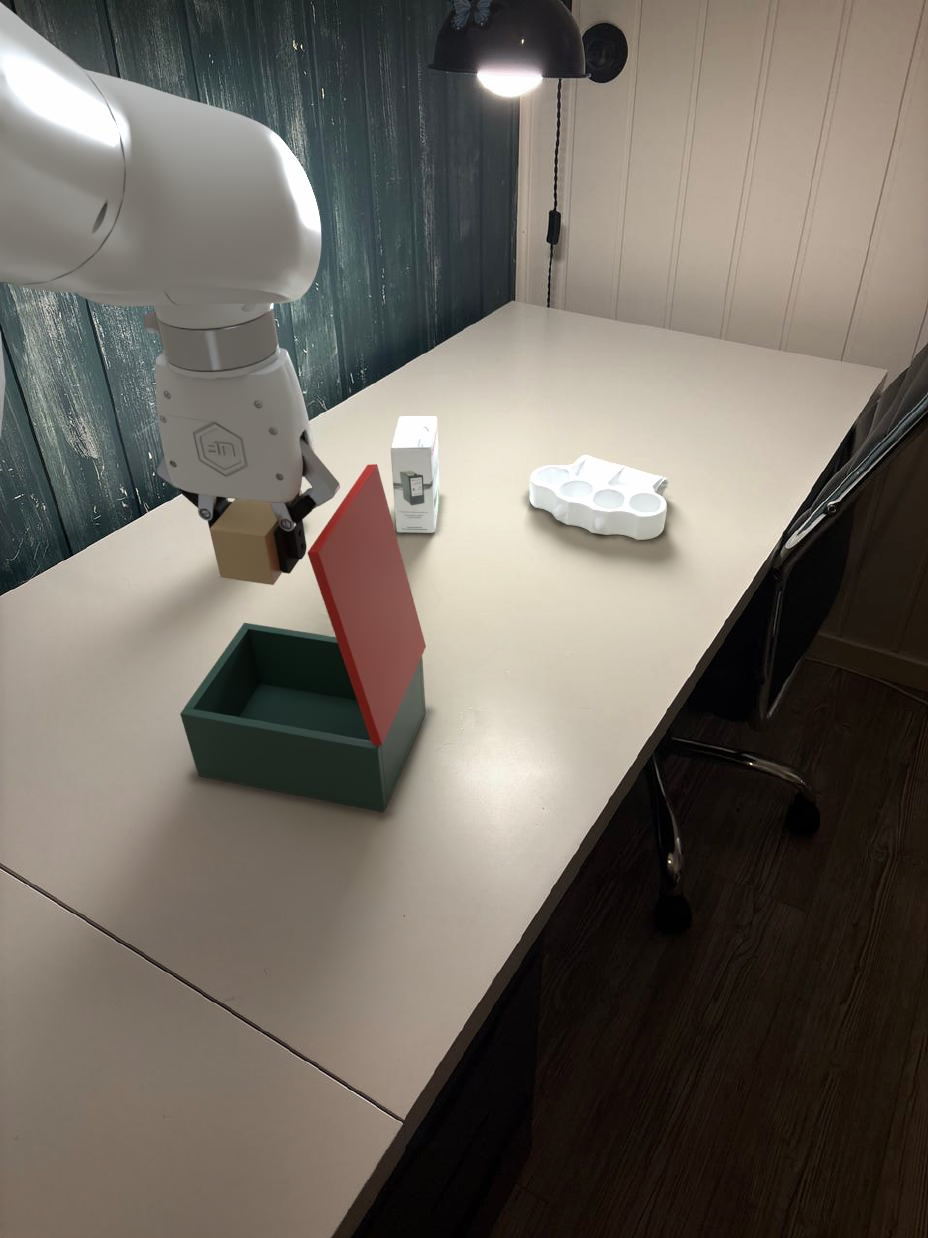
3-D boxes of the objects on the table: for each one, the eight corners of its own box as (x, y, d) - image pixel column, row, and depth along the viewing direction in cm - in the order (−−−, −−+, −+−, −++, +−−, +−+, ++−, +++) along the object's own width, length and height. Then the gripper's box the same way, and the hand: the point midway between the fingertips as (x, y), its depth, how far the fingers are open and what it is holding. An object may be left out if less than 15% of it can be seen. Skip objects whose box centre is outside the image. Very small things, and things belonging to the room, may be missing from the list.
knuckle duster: (689, 500, 117) (641, 556, 108) (565, 464, 125) (510, 513, 116) (693, 477, 115) (644, 532, 106) (566, 442, 123) (510, 490, 113)
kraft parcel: (303, 542, 75) (296, 495, 72) (273, 585, 70) (264, 536, 67) (252, 535, 76) (243, 488, 73) (220, 577, 71) (208, 529, 68)
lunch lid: (306, 552, 63) (317, 552, 63) (367, 464, 72) (377, 463, 72) (372, 745, 73) (382, 745, 73) (417, 646, 83) (426, 646, 83)
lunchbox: (198, 775, 82) (179, 713, 77) (257, 683, 92) (244, 622, 87) (384, 812, 79) (377, 749, 74) (425, 712, 88) (422, 650, 83)
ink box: (403, 497, 119) (397, 413, 112) (441, 497, 119) (438, 414, 111) (395, 533, 112) (389, 447, 105) (435, 534, 112) (432, 447, 105)
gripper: (77, 347, 60) (142, 571, 72) (317, 369, 57) (346, 602, 68) (136, 306, 66) (188, 521, 77) (358, 325, 62) (378, 546, 74)
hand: (261, 557), depth 73 cm, fingers closed on kraft parcel, 4 cm apart
